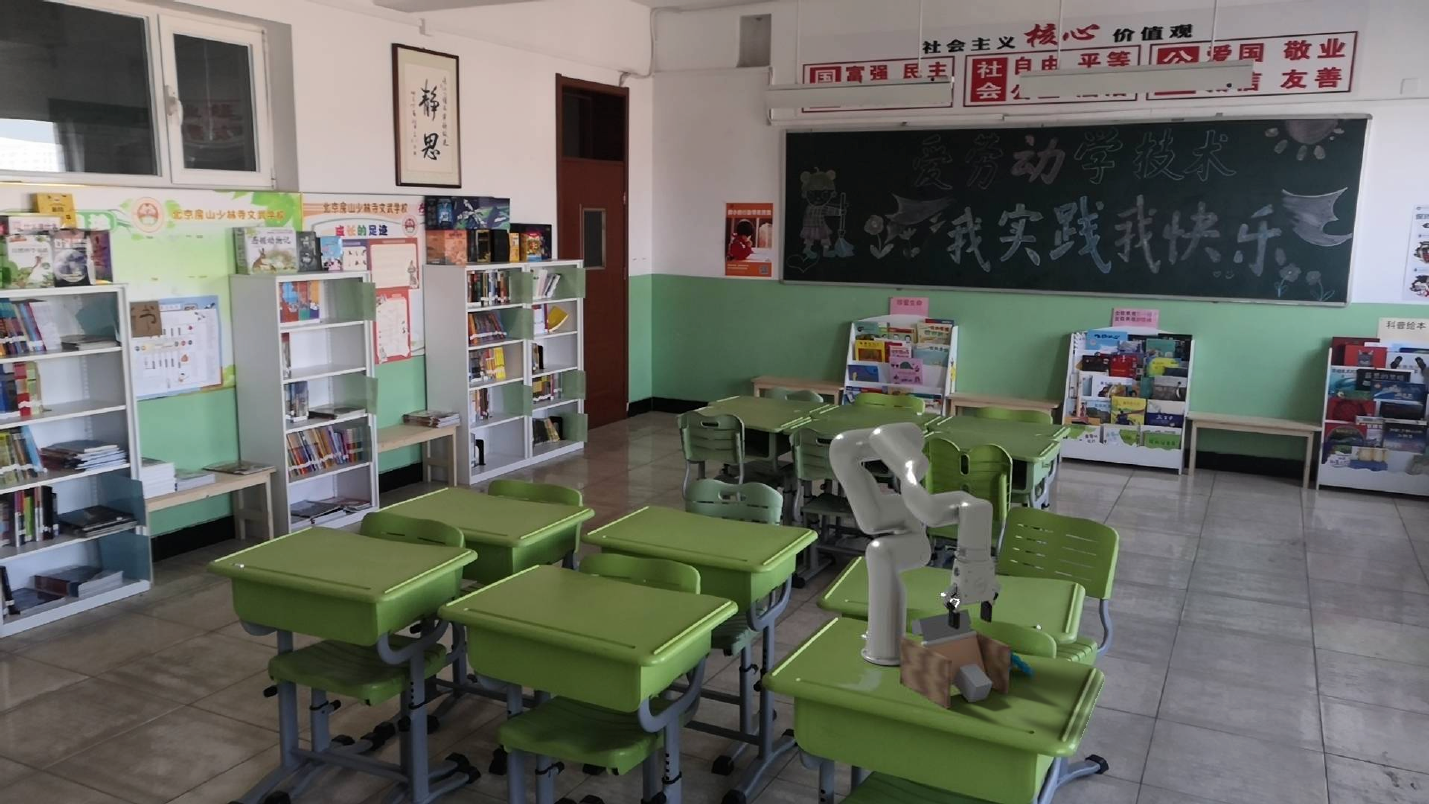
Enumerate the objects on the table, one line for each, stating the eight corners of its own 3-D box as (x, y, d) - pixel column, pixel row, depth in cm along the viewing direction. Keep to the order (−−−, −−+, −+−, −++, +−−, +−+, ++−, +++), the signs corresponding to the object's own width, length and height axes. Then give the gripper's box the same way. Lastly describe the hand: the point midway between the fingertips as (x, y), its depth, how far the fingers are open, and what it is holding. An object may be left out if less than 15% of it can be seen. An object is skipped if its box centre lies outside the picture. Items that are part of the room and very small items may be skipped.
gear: (1041, 675, 254) (1013, 648, 253) (1026, 694, 254) (998, 666, 252) (1020, 664, 265) (993, 638, 264) (1005, 682, 264) (978, 655, 263)
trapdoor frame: (899, 683, 254) (901, 637, 252) (960, 668, 262) (961, 624, 261) (946, 709, 239) (948, 660, 237) (1008, 693, 248) (1010, 646, 246)
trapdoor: (908, 621, 251) (918, 619, 248) (960, 610, 259) (970, 608, 256) (925, 690, 247) (935, 689, 244) (977, 677, 255) (987, 676, 252)
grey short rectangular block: (959, 667, 245) (976, 687, 240) (975, 663, 247) (992, 683, 242) (952, 682, 247) (969, 702, 242) (968, 678, 250) (986, 698, 245)
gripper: (955, 562, 234) (951, 635, 237) (1013, 552, 242) (1009, 623, 245) (933, 553, 241) (930, 624, 243) (990, 543, 249) (986, 613, 251)
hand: (969, 624), depth 244 cm, fingers open, 9 cm apart
